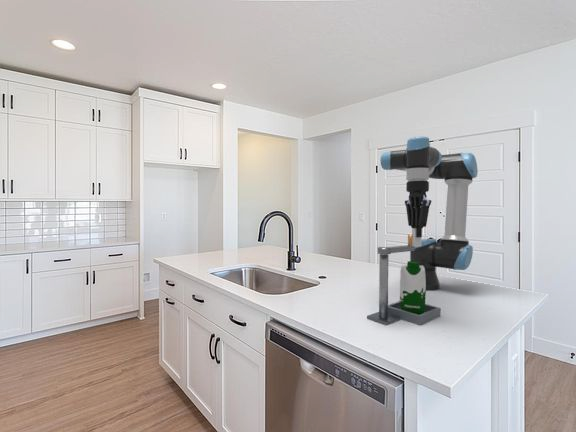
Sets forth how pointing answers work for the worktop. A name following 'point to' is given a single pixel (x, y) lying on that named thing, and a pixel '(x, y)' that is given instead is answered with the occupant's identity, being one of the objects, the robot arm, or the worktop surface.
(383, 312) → the post
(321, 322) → the worktop surface
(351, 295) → the worktop surface
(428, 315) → the socket frame
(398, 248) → the crank handle
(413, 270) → the soya milk
